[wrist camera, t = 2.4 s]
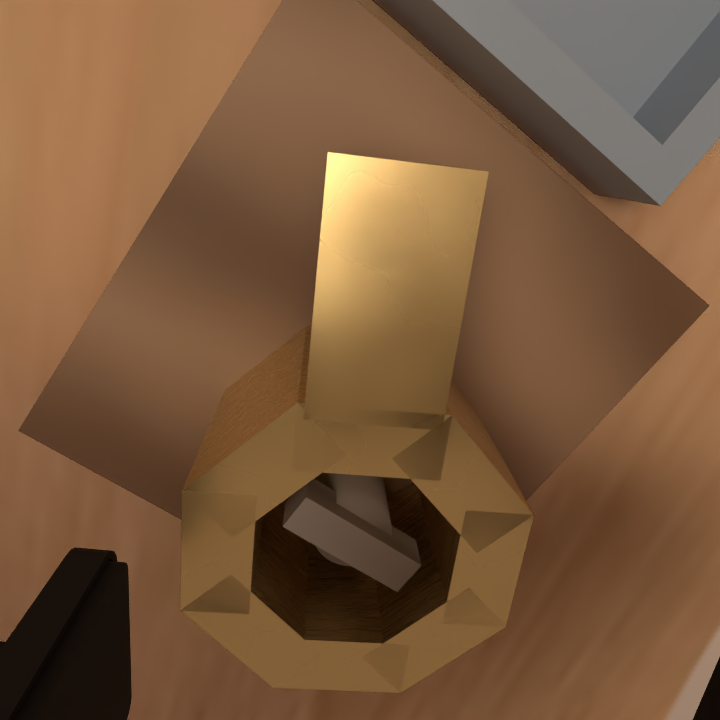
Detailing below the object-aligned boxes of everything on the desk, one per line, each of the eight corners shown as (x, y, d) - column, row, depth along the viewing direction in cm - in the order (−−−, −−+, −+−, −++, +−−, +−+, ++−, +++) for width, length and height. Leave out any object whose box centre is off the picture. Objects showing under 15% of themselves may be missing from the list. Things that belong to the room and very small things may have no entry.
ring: (447, 556, 17) (488, 696, 12) (218, 542, 16) (179, 684, 12) (523, 174, 13) (617, 187, 9) (234, 138, 12) (187, 135, 8)
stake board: (393, 612, 18) (416, 771, 14) (36, 413, 15) (-89, 529, 11) (685, 295, 15) (844, 361, 11) (310, -28, 12) (299, -134, 8)
